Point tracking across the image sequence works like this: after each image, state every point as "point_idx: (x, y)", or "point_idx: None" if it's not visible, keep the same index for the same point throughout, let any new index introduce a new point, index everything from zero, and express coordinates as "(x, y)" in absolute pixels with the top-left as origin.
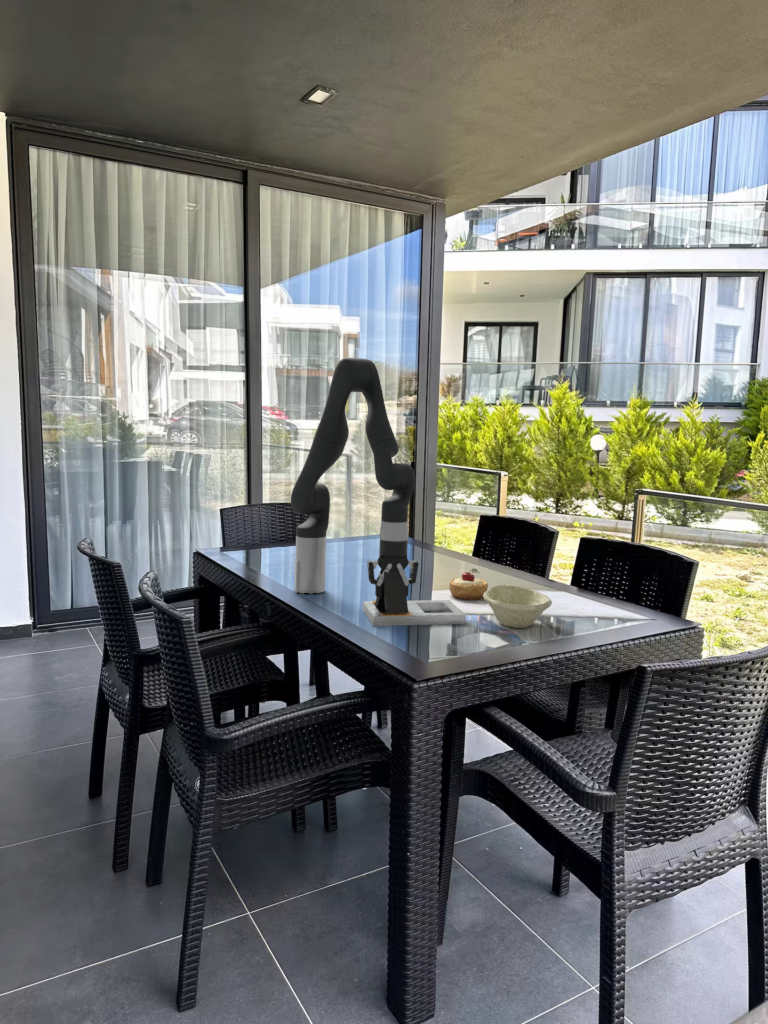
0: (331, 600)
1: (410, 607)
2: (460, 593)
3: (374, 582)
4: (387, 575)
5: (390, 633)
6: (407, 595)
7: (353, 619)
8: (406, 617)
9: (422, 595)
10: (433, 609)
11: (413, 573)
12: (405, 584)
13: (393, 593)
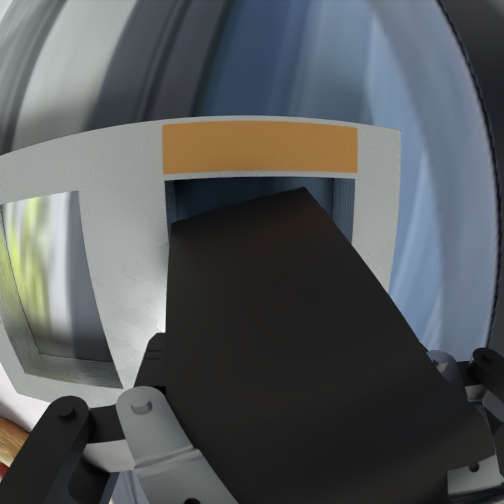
0: None
1: (148, 315)
2: (22, 441)
3: (475, 358)
4: (444, 431)
5: (313, 17)
6: (154, 339)
7: (420, 249)
8: (205, 118)
9: (124, 478)
10: (63, 361)
11: (41, 485)
12: (159, 398)
13: (298, 294)
